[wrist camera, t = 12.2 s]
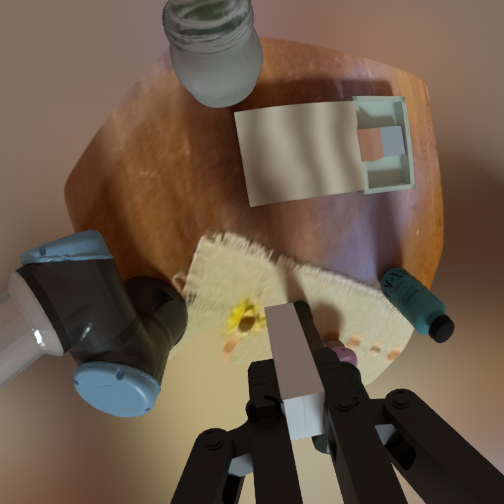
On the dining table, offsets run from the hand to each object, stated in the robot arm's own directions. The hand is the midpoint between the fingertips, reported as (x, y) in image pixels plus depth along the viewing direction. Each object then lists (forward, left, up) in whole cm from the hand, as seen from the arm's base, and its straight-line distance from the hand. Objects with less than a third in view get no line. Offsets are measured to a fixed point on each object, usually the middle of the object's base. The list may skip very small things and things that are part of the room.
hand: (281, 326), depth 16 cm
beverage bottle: (+25, -18, -35) cm, 46 cm away
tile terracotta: (+20, +8, -31) cm, 37 cm away
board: (+9, +8, -34) cm, 36 cm away
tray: (+23, +8, -34) cm, 42 cm away
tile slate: (+25, +8, -32) cm, 41 cm away
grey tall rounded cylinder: (-1, +21, -35) cm, 40 cm away
